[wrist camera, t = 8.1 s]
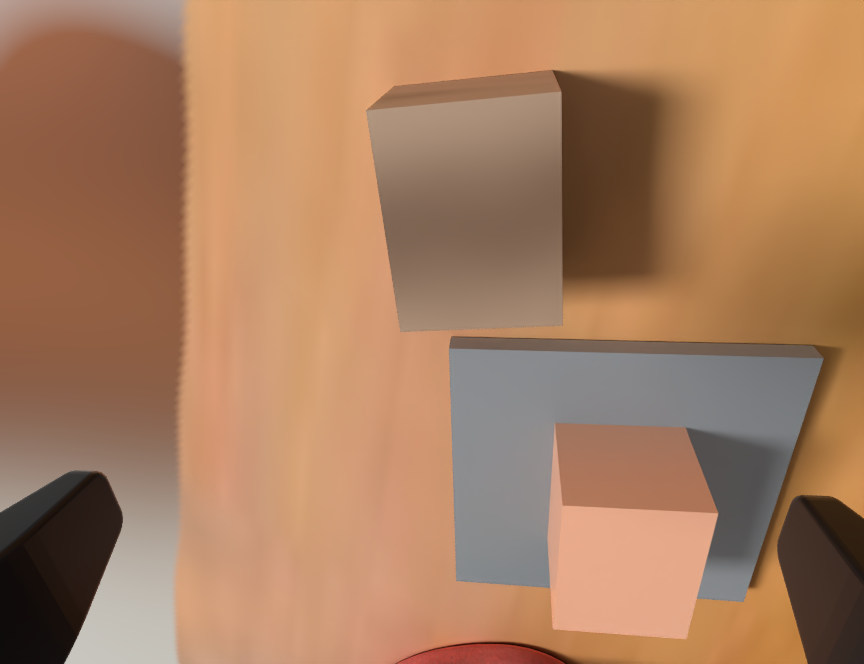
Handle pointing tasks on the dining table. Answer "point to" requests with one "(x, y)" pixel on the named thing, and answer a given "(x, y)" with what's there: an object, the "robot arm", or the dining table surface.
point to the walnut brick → (472, 200)
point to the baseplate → (618, 405)
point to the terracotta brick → (627, 529)
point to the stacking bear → (482, 655)
